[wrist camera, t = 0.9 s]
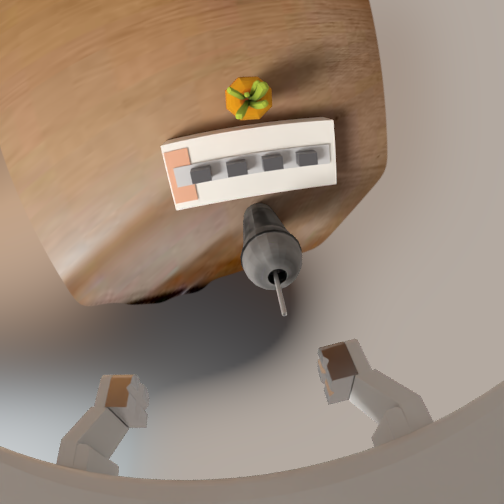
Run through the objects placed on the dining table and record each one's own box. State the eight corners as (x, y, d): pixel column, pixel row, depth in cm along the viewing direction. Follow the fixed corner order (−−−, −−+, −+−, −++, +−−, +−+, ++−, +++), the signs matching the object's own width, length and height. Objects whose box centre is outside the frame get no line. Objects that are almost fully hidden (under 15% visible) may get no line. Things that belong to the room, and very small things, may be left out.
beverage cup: (285, 195, 43) (330, 272, 26) (279, 238, 46) (315, 329, 29) (235, 193, 42) (250, 274, 25) (233, 237, 45) (245, 333, 28)
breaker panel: (166, 140, 36) (157, 148, 31) (323, 116, 37) (339, 121, 32) (179, 199, 41) (174, 216, 36) (326, 175, 42) (342, 188, 37)
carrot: (232, 120, 36) (240, 136, 23) (216, 89, 34) (214, 86, 21) (265, 105, 36) (293, 113, 23) (250, 74, 33) (269, 62, 20)
